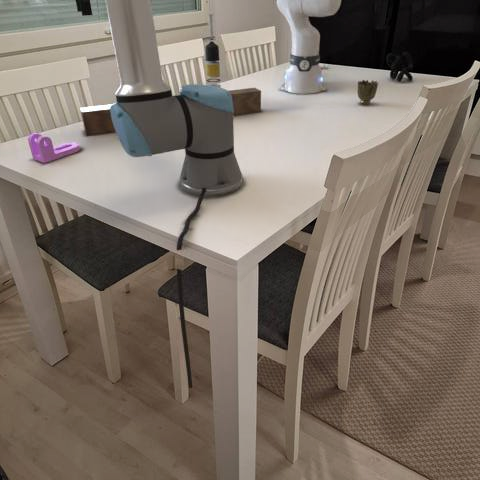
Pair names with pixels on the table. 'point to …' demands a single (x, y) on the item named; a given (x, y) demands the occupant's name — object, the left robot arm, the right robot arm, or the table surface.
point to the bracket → (49, 148)
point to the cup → (366, 91)
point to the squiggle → (399, 66)
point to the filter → (212, 58)
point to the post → (101, 122)
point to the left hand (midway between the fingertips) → (84, 13)
